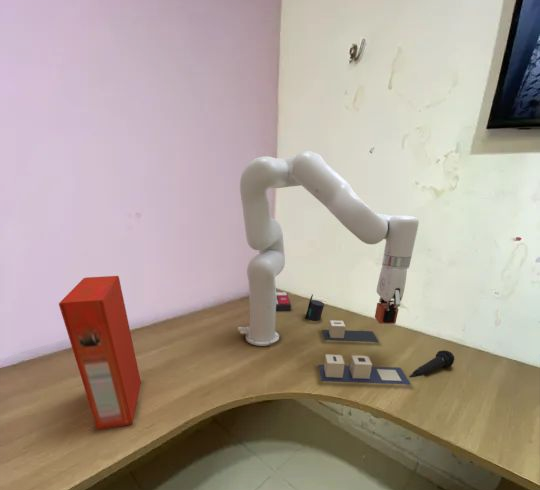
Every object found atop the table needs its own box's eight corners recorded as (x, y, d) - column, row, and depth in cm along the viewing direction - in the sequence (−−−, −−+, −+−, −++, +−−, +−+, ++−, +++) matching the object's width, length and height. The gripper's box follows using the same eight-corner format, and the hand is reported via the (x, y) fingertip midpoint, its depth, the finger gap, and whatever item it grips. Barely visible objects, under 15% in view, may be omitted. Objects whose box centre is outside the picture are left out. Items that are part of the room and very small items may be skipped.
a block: (330, 337, 116) (331, 325, 114) (328, 332, 120) (329, 320, 118) (343, 338, 116) (345, 326, 114) (341, 332, 120) (343, 320, 118)
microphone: (411, 390, 94) (452, 367, 102) (419, 379, 90) (461, 355, 98) (398, 377, 97) (439, 355, 105) (404, 366, 93) (447, 344, 101)
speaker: (300, 319, 133) (304, 296, 128) (306, 315, 137) (311, 293, 132) (315, 325, 129) (320, 302, 124) (322, 321, 133) (327, 299, 129)
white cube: (325, 377, 93) (327, 362, 90) (323, 368, 97) (325, 354, 95) (342, 377, 92) (344, 363, 90) (339, 368, 97) (341, 354, 95)
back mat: (324, 342, 115) (324, 340, 114) (321, 331, 123) (321, 329, 122) (378, 344, 114) (378, 342, 114) (372, 333, 122) (372, 331, 122)
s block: (379, 323, 95) (382, 308, 93) (374, 317, 100) (377, 302, 98) (395, 324, 95) (398, 308, 93) (390, 317, 100) (393, 302, 98)
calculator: (267, 303, 139) (264, 291, 152) (266, 312, 141) (264, 299, 154) (291, 303, 140) (286, 291, 153) (290, 312, 142) (286, 299, 155)
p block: (352, 378, 92) (355, 363, 90) (349, 369, 97) (351, 355, 95) (369, 378, 92) (372, 364, 90) (365, 369, 97) (368, 355, 95)
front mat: (321, 383, 91) (321, 380, 91) (318, 367, 99) (318, 364, 99) (410, 387, 91) (410, 384, 90) (399, 370, 99) (400, 367, 98)
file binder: (96, 429, 73) (58, 302, 59) (110, 386, 88) (83, 277, 74) (132, 424, 75) (104, 299, 61) (141, 383, 90) (120, 275, 76)
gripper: (374, 254, 97) (366, 308, 105) (393, 268, 82) (381, 330, 90) (398, 254, 97) (388, 308, 105) (421, 268, 82) (407, 330, 90)
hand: (385, 317), depth 97 cm, fingers closed on s block, 5 cm apart
